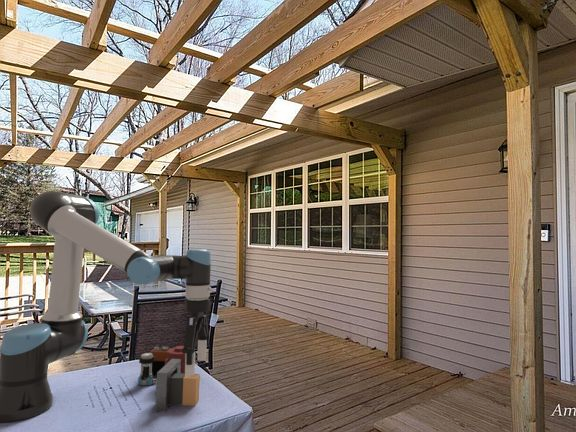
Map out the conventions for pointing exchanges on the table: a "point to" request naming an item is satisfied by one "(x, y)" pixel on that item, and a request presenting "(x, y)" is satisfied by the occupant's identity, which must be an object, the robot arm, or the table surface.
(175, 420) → the table surface
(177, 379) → the grey and orange block
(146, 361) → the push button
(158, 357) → the battery
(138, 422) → the table surface
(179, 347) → the mechanical component
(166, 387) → the grey piece
